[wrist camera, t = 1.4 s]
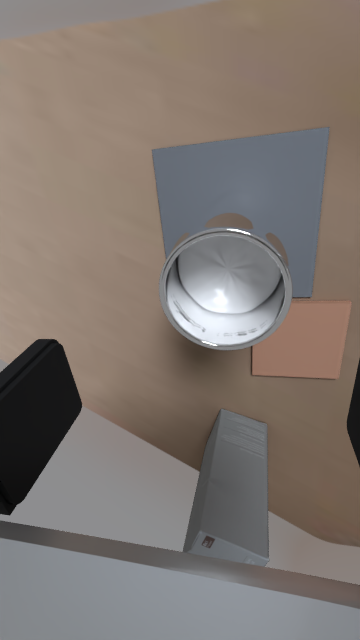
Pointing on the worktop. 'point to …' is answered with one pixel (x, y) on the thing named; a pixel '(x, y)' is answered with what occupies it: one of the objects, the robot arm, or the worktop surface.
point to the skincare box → (232, 493)
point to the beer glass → (228, 276)
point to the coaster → (305, 342)
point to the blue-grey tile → (250, 188)
